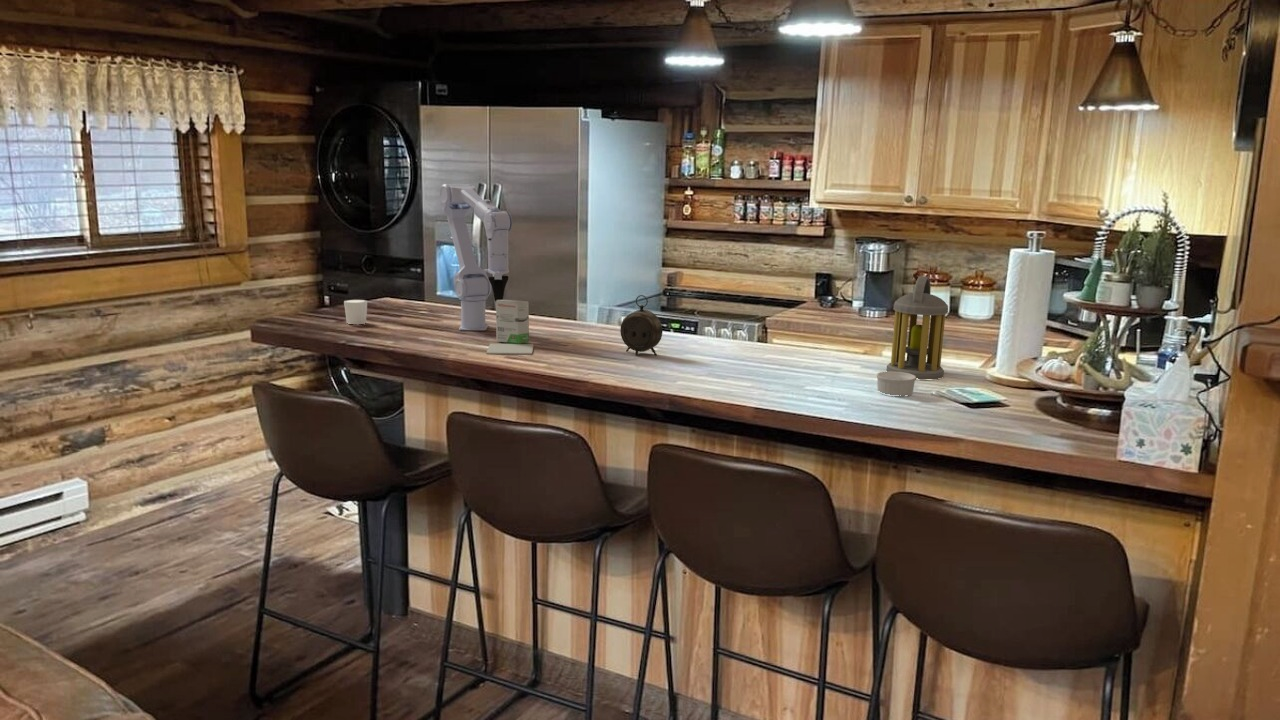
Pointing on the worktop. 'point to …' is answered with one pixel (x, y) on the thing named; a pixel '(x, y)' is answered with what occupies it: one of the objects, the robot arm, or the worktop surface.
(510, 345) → the mat
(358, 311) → the white cup
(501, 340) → the ink box
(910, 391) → the ramekin
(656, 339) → the alarm clock
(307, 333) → the worktop surface
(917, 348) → the lantern
